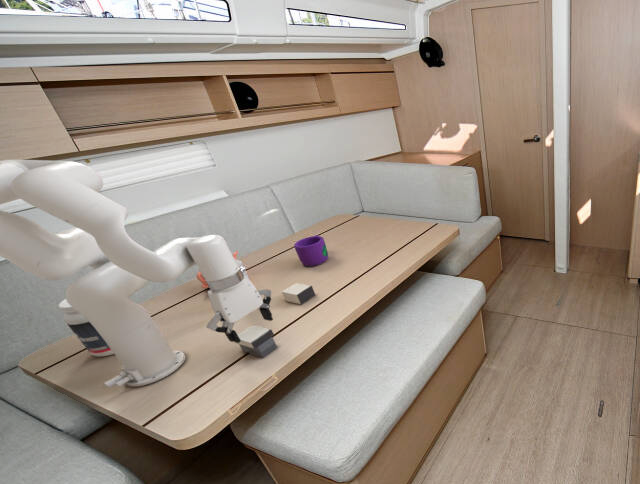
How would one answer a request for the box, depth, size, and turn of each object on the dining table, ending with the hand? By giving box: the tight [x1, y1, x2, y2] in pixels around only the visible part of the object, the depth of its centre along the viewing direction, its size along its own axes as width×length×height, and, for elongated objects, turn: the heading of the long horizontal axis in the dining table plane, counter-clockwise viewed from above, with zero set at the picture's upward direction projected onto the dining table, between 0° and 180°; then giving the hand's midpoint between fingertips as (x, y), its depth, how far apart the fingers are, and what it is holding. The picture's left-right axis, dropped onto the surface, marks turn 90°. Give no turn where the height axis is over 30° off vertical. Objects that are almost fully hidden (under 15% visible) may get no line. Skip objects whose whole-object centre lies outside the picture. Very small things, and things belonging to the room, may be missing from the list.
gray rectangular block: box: [238, 336, 278, 358], centre depth 103 cm, size 4×9×4 cm, turn 69°
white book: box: [234, 324, 275, 349], centre depth 102 cm, size 6×8×2 cm
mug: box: [293, 234, 329, 267], centre depth 154 cm, size 17×11×10 cm, turn 10°
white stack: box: [281, 282, 316, 305], centre depth 127 cm, size 6×8×4 cm
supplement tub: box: [58, 298, 115, 357], centre depth 107 cm, size 13×13×18 cm
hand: (253, 330), depth 101 cm, fingers open, 9 cm apart
